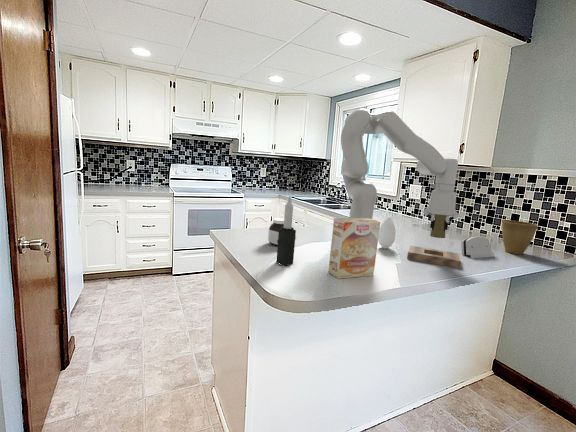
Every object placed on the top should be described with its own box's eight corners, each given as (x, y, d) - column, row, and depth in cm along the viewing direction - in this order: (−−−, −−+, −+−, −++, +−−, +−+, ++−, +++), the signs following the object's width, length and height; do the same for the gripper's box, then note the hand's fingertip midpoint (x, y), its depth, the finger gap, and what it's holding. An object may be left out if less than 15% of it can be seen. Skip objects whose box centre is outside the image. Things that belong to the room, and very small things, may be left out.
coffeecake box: (338, 279, 105) (344, 221, 102) (327, 271, 111) (332, 217, 108) (374, 275, 111) (381, 221, 108) (362, 269, 117) (368, 217, 114)
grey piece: (471, 258, 145) (468, 236, 147) (462, 258, 150) (459, 237, 151) (495, 256, 152) (491, 235, 153) (485, 256, 156) (482, 236, 158)
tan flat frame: (407, 258, 136) (408, 251, 136) (409, 251, 149) (410, 245, 148) (459, 268, 128) (460, 261, 127) (457, 259, 140) (458, 253, 140)
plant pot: (538, 256, 158) (545, 225, 155) (515, 256, 154) (522, 224, 152) (511, 248, 172) (517, 219, 170) (489, 248, 168) (495, 219, 166)
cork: (442, 235, 139) (445, 210, 137) (447, 238, 133) (451, 212, 131) (428, 234, 140) (431, 209, 138) (432, 237, 134) (436, 211, 132)
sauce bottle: (375, 245, 156) (380, 209, 153) (391, 247, 155) (396, 210, 152) (377, 249, 148) (382, 211, 145) (395, 251, 147) (400, 213, 144)
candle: (284, 260, 121) (290, 195, 117) (294, 263, 117) (300, 197, 113) (275, 262, 117) (279, 195, 113) (284, 266, 114) (289, 197, 110)
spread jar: (266, 245, 139) (267, 219, 138) (271, 239, 150) (273, 215, 149) (292, 248, 138) (295, 222, 136) (296, 242, 149) (298, 218, 147)
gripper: (422, 186, 133) (417, 229, 136) (467, 190, 126) (460, 235, 129) (423, 186, 140) (417, 226, 143) (466, 189, 133) (459, 231, 136)
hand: (438, 230), depth 136 cm, fingers closed on cork, 4 cm apart
